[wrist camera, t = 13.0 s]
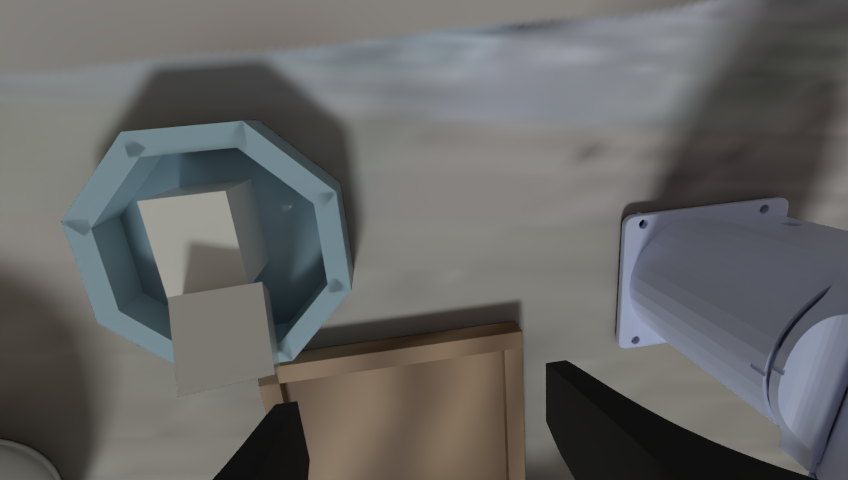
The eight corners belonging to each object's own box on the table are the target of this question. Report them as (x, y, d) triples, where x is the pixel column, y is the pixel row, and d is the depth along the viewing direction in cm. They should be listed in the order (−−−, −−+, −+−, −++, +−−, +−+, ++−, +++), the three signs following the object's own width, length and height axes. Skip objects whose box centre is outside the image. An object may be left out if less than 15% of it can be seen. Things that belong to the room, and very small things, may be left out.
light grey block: (251, 178, 19) (225, 190, 15) (269, 259, 20) (249, 287, 17) (179, 186, 19) (136, 201, 15) (202, 268, 20) (167, 298, 16)
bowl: (330, 113, 19) (324, 112, 17) (362, 326, 22) (360, 351, 20) (76, 136, 18) (31, 139, 16) (148, 355, 21) (120, 385, 19)
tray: (514, 321, 23) (522, 331, 22) (520, 520, 28) (526, 537, 26) (261, 356, 22) (255, 369, 21) (309, 559, 26) (306, 579, 25)
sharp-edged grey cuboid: (261, 281, 16) (274, 374, 15) (269, 290, 19) (279, 365, 19) (167, 297, 15) (177, 396, 14) (194, 303, 18) (203, 382, 18)
